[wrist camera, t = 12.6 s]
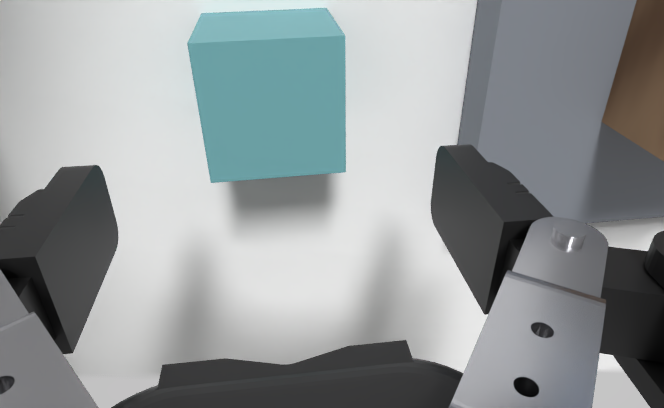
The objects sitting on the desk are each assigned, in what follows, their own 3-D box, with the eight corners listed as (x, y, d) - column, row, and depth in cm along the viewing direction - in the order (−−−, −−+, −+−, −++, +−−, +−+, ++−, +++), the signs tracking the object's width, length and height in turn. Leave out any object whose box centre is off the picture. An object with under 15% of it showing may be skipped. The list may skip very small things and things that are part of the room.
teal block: (202, 13, 18) (187, 43, 14) (326, 7, 18) (345, 35, 14) (219, 129, 20) (211, 182, 16) (328, 122, 20) (345, 172, 17)
